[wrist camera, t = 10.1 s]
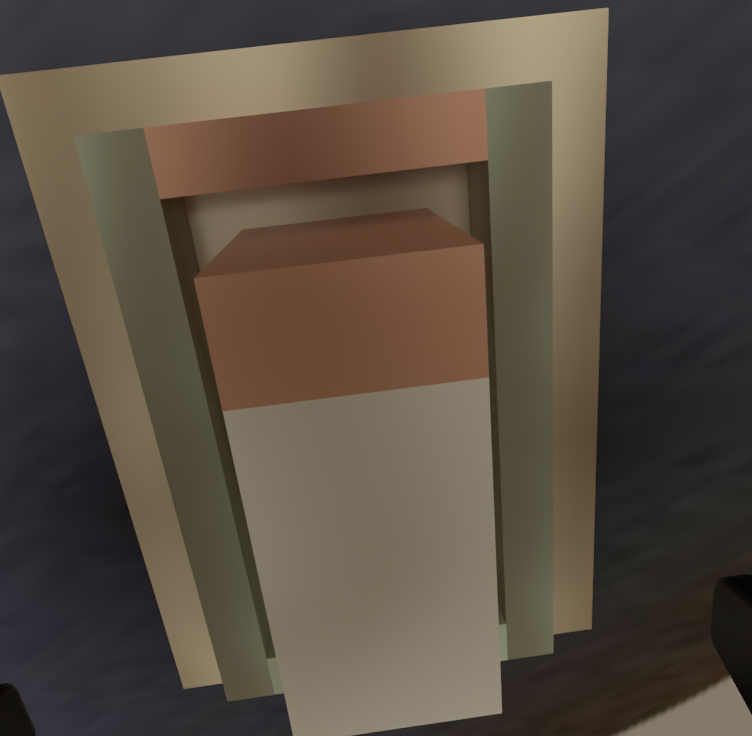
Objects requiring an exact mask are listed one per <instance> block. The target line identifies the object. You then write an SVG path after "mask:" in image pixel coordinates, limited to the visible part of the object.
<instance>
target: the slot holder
mask: <svg viewBox="0 0 752 736" xmlns="http://www.w3.org/2000/svg"><path fill="white" fill-rule="evenodd" d="M608 15H609V8H600V9H591V10H582V11H573V12H564V13H555V14H546V15H537V16H528V17H519V18H510V19H501V20H492V21H483V22H474V23H465V24H456V25H447V26H438V27H429V28H420V29H411V30H402V31H393V32H384V33H375V34H366V35H357V36H348V37H339V38H330V39H321V40H312V41H303V42H294V43H285V44H276V45H267V46H258V47H249V48H240V49H231V50H222V51H213V52H204V53H195V54H186V55H177V56H168V57H159V58H150V59H141V60H132V61H123V62H114V63H105V64H96V65H87V66H78V67H69V68H60V69H51V70H42V71H33V72H24V73H15V74H6V75H0V90H1V93H2V97H3V100H4V103H5V106H6V110H7V113H8V116H9V120H10V123H11V126H12V129H13V133H14V136H15V139H16V142H17V146H18V149H19V152H20V155H21V159H22V162H23V165H24V169H25V172H26V175H27V178H28V182H29V185H30V188H31V191H32V195H33V198H34V201H35V205H36V208H37V211H38V214H39V218H40V221H41V224H42V227H43V231H44V234H45V237H46V240H47V244H48V247H49V250H50V254H51V257H52V260H53V263H54V267H55V270H56V273H57V276H58V280H59V283H60V286H61V289H62V293H63V296H64V299H65V303H66V306H67V309H68V312H69V316H70V319H71V322H72V325H73V329H74V332H75V335H76V339H77V342H78V345H79V348H80V352H81V355H82V358H83V361H84V365H85V368H86V371H87V374H88V378H89V381H90V384H91V388H92V391H93V394H94V397H95V401H96V404H97V407H98V410H99V414H100V417H101V420H102V424H103V427H104V430H105V433H106V437H107V440H108V443H109V446H110V450H111V453H112V456H113V459H114V463H115V466H116V469H117V473H118V476H119V479H120V482H121V486H122V489H123V492H124V495H125V499H126V502H127V505H128V509H129V512H130V515H131V518H132V522H133V525H134V528H135V531H136V535H137V538H138V541H139V544H140V548H141V551H142V554H143V558H144V561H145V564H146V567H147V571H148V574H149V577H150V580H151V584H152V587H153V590H154V594H155V597H156V600H157V603H158V607H159V610H160V613H161V616H162V620H163V623H164V626H165V629H166V633H167V636H168V639H169V643H170V646H171V649H172V652H173V656H174V659H175V662H176V665H177V669H178V672H179V675H180V679H181V682H182V685H183V688H184V689H187V688H194V687H201V686H208V685H214V684H221V683H223V687H224V690H225V694H226V698H227V701H235V700H242V699H249V698H255V697H262V696H269V695H276V694H282V693H284V691H283V687H282V682H281V678H280V673H279V668H278V664H277V659H276V655H275V650H274V645H273V641H272V636H271V632H270V627H269V622H268V618H267V613H266V609H265V604H264V599H263V595H262V590H261V586H260V581H259V576H258V572H257V567H256V563H255V558H254V554H253V549H252V544H251V540H250V535H249V531H248V526H247V521H246V517H245V512H244V508H243V503H242V498H241V494H240V489H239V485H238V480H237V475H236V471H235V466H234V462H233V457H232V453H231V448H230V443H229V439H228V434H227V430H226V425H225V420H224V416H223V411H222V407H221V402H220V397H219V393H218V388H217V384H216V379H215V374H214V370H213V365H212V361H211V356H210V352H209V347H208V342H207V338H206V333H205V329H204V324H203V319H202V315H201V310H200V306H199V301H198V296H197V292H196V287H195V283H194V278H195V277H196V276H197V275H198V274H199V273H200V272H201V271H202V270H203V269H204V268H205V267H206V266H207V265H208V264H209V263H210V262H211V261H212V260H213V258H214V257H215V256H216V255H217V254H218V253H219V252H220V251H221V250H222V249H223V248H224V247H225V246H226V245H227V244H228V243H229V242H230V241H231V240H232V239H233V238H234V237H235V236H236V235H237V234H238V233H239V232H240V231H241V230H242V229H251V228H260V227H268V226H277V225H285V224H294V223H302V222H311V221H320V220H328V219H337V218H345V217H354V216H362V215H371V214H380V213H388V212H397V211H405V210H414V209H422V208H428V209H429V210H431V211H432V212H434V213H435V214H437V215H439V216H440V217H442V218H443V219H445V220H447V221H448V222H450V223H451V224H453V225H455V226H456V227H458V228H459V229H461V230H463V231H464V232H466V233H467V234H469V235H470V236H472V237H474V238H475V239H477V240H478V241H480V242H482V243H483V244H484V261H485V287H486V312H487V338H488V364H489V389H490V415H491V441H492V466H493V492H494V518H495V543H496V569H497V594H498V620H499V646H500V661H504V660H511V659H518V658H524V657H531V656H538V655H545V654H551V653H553V634H560V633H567V632H573V631H580V630H587V629H592V598H593V561H594V525H595V488H596V452H597V416H598V379H599V343H600V306H601V270H602V234H603V197H604V161H605V124H606V88H607V52H608Z"/></svg>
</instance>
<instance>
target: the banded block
mask: <svg viewBox="0 0 752 736" xmlns="http://www.w3.org/2000/svg"><path fill="white" fill-rule="evenodd" d="M194 283H195V287H196V292H197V296H198V301H199V306H200V310H201V315H202V319H203V324H204V329H205V333H206V338H207V342H208V347H209V352H210V356H211V361H212V365H213V370H214V374H215V379H216V384H217V388H218V393H219V397H220V402H221V407H222V411H223V416H224V420H225V425H226V430H227V434H228V439H229V443H230V448H231V453H232V457H233V462H234V466H235V471H236V475H237V480H238V485H239V489H240V494H241V498H242V503H243V508H244V512H245V517H246V521H247V526H248V531H249V535H250V540H251V544H252V549H253V554H254V558H255V563H256V567H257V572H258V576H259V581H260V586H261V590H262V595H263V599H264V604H265V609H266V613H267V618H268V622H269V627H270V632H271V636H272V641H273V645H274V650H275V655H276V659H277V664H278V668H279V673H280V678H281V682H282V687H283V691H284V696H285V700H286V705H287V710H288V714H289V719H290V723H291V728H292V733H293V736H351V735H358V734H364V733H371V732H378V731H385V730H391V729H398V728H405V727H412V726H418V725H425V724H432V723H439V722H445V721H452V720H459V719H466V718H472V717H479V716H486V715H493V714H499V713H502V697H501V671H500V646H499V620H498V594H497V569H496V543H495V518H494V492H493V466H492V441H491V415H490V389H489V364H488V338H487V312H486V287H485V261H484V244H483V243H482V242H480V241H478V240H477V239H475V238H474V237H472V236H470V235H469V234H467V233H466V232H464V231H463V230H461V229H459V228H458V227H456V226H455V225H453V224H451V223H450V222H448V221H447V220H445V219H443V218H442V217H440V216H439V215H437V214H435V213H434V212H432V211H431V210H429V209H428V208H422V209H414V210H405V211H397V212H388V213H380V214H371V215H362V216H354V217H345V218H337V219H328V220H320V221H311V222H302V223H294V224H285V225H277V226H268V227H260V228H251V229H242V230H241V231H240V232H239V233H238V234H237V235H236V236H235V237H234V238H233V239H232V240H231V241H230V242H229V243H228V244H227V245H226V246H225V247H224V248H223V249H222V250H221V251H220V252H219V253H218V254H217V255H216V256H215V257H214V258H213V260H212V261H211V262H210V263H209V264H208V265H207V266H206V267H205V268H204V269H203V270H202V271H201V272H200V273H199V274H198V275H197V276H196V277H195V278H194Z"/></svg>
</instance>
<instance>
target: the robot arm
mask: <svg viewBox="0 0 752 736" xmlns="http://www.w3.org/2000/svg"><path fill="white" fill-rule="evenodd" d="M710 634H711V638H712V641H713V643H714V646H715V648H716V650H717V652H718V653H719V655H720V657H721V659H722V661H723V663H724V664H725V666H726V668H727V670H728V672H729V674H730V675H731V677H732V679H733V681H734V683H735V684H736V687H737V688H738V690H739V692H740V694H741V696H742V698H743V699H744V701H745V703H746V705H747V707H748V708H749V710H750V712H751V714H752V575H749V574H743V575H736V576H729V577H723V578H720V579H718V580H717V582H716V583H715V586H714V592H713V601H712V609H711V617H710ZM0 736H35V729H34V726H33V723H32V721H31V719H30V717H29V714H28V712H27V710H26V708H25V705H24V703H23V701H22V699H21V696H20V694H19V692H18V690H17V688H16V687H15V686H13V685H12V684H8V683H5V684H0Z"/></svg>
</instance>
